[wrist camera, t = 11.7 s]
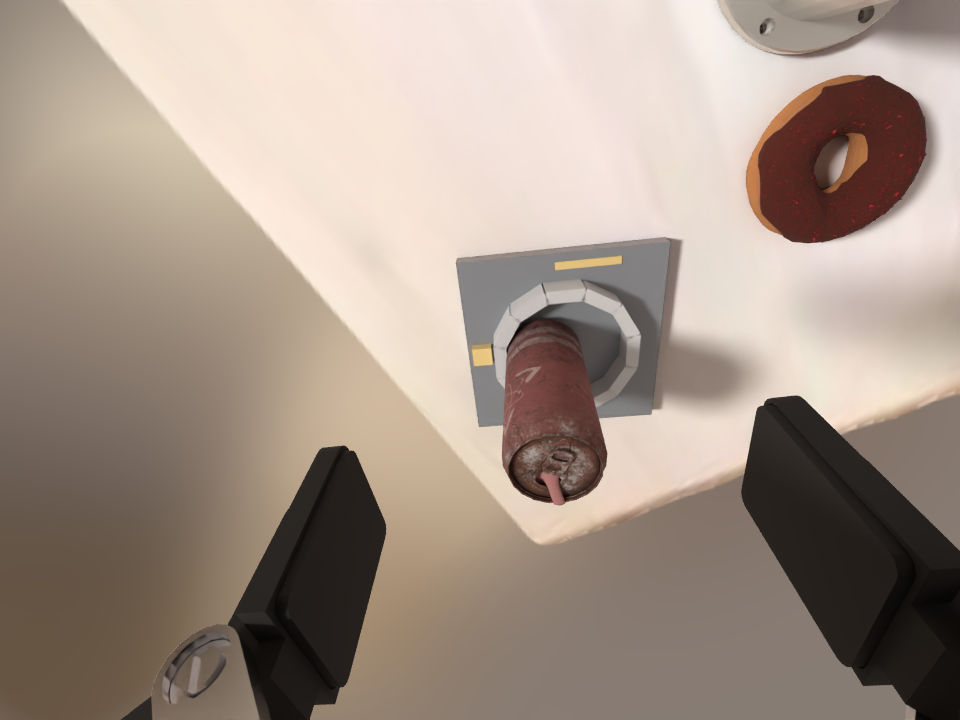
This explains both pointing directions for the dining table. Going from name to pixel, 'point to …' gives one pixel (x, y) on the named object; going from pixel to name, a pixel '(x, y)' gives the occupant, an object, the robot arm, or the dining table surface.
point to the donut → (868, 166)
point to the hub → (570, 317)
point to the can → (550, 416)
